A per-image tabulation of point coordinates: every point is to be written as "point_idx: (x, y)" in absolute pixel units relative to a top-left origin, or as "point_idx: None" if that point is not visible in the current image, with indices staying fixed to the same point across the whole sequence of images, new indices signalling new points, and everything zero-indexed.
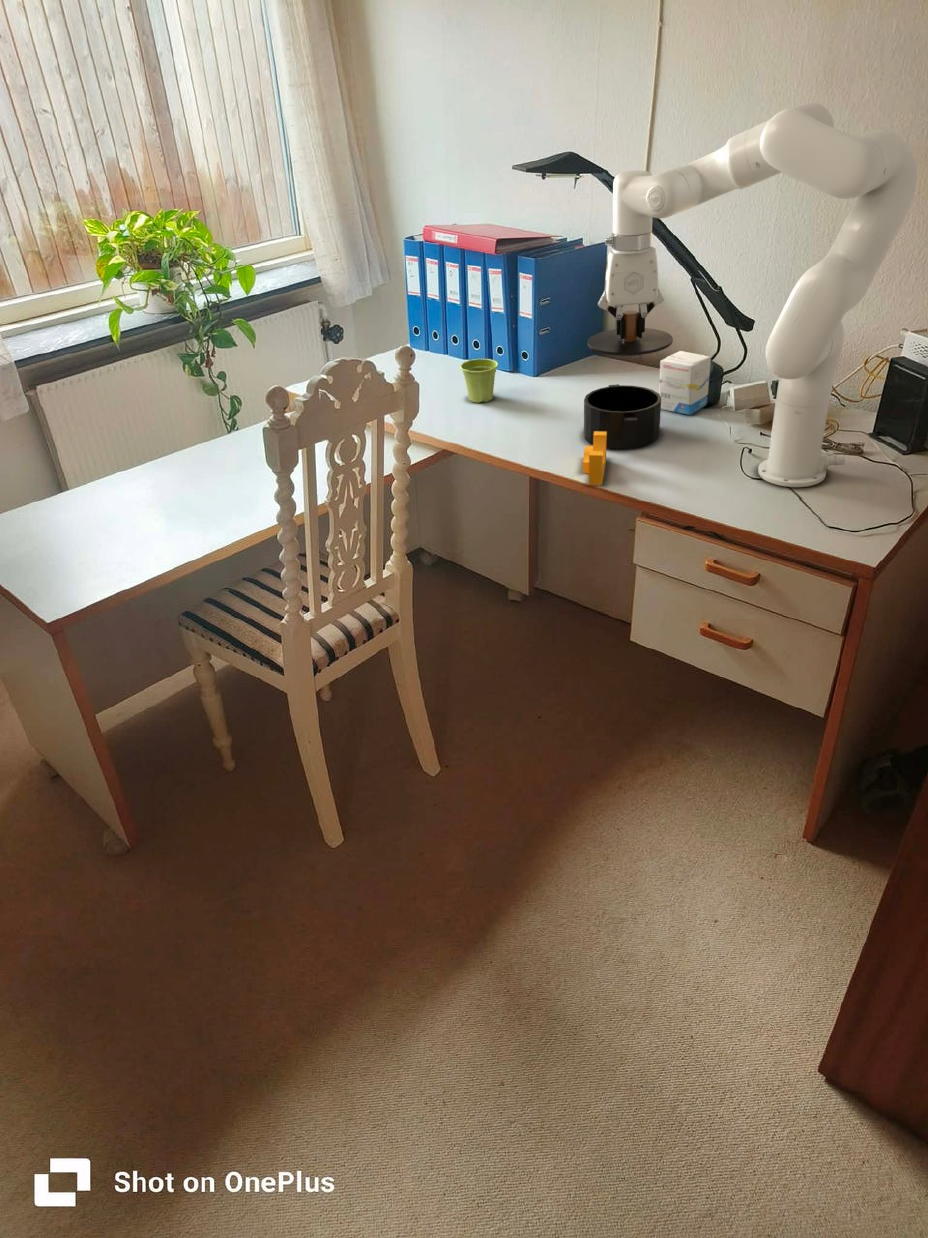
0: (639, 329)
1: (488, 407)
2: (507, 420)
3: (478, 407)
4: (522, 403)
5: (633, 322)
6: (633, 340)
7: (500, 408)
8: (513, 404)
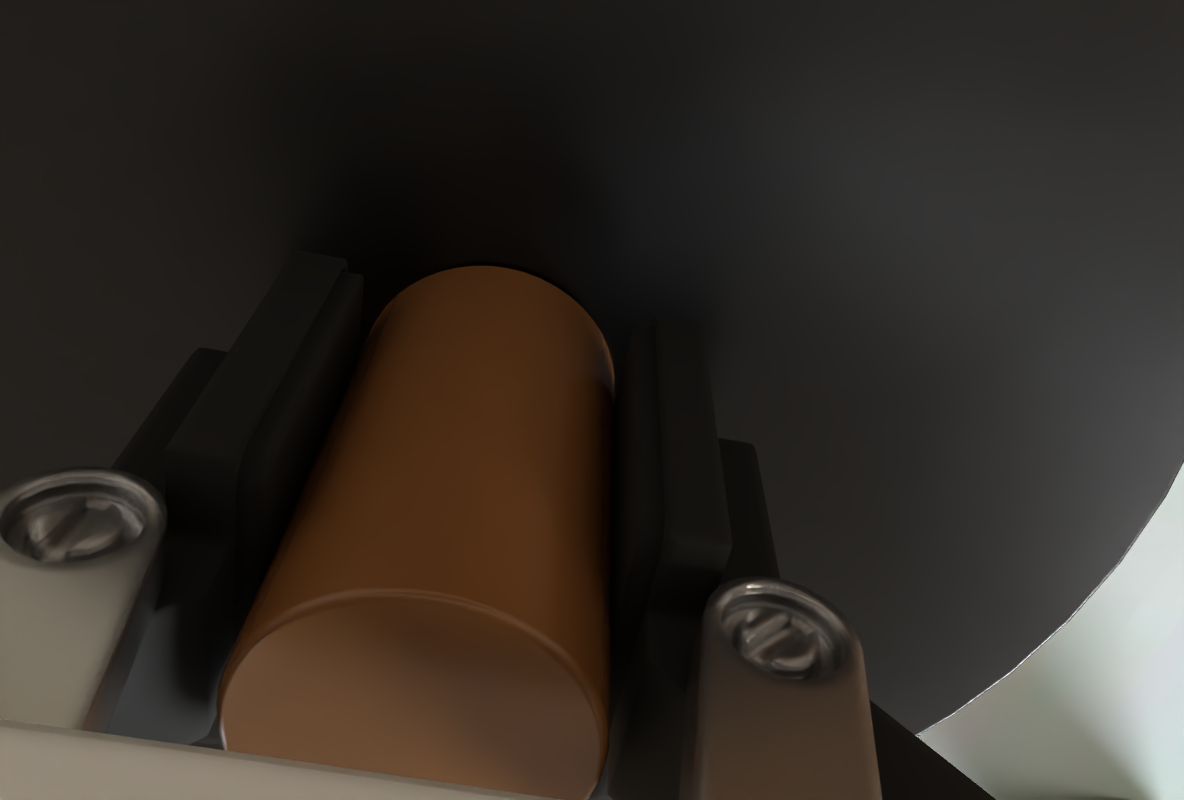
0: (308, 337)
1: (1129, 743)
2: (1138, 564)
3: (1176, 760)
4: (937, 727)
5: (415, 452)
6: (460, 271)
7: (1079, 712)
8: (987, 732)
